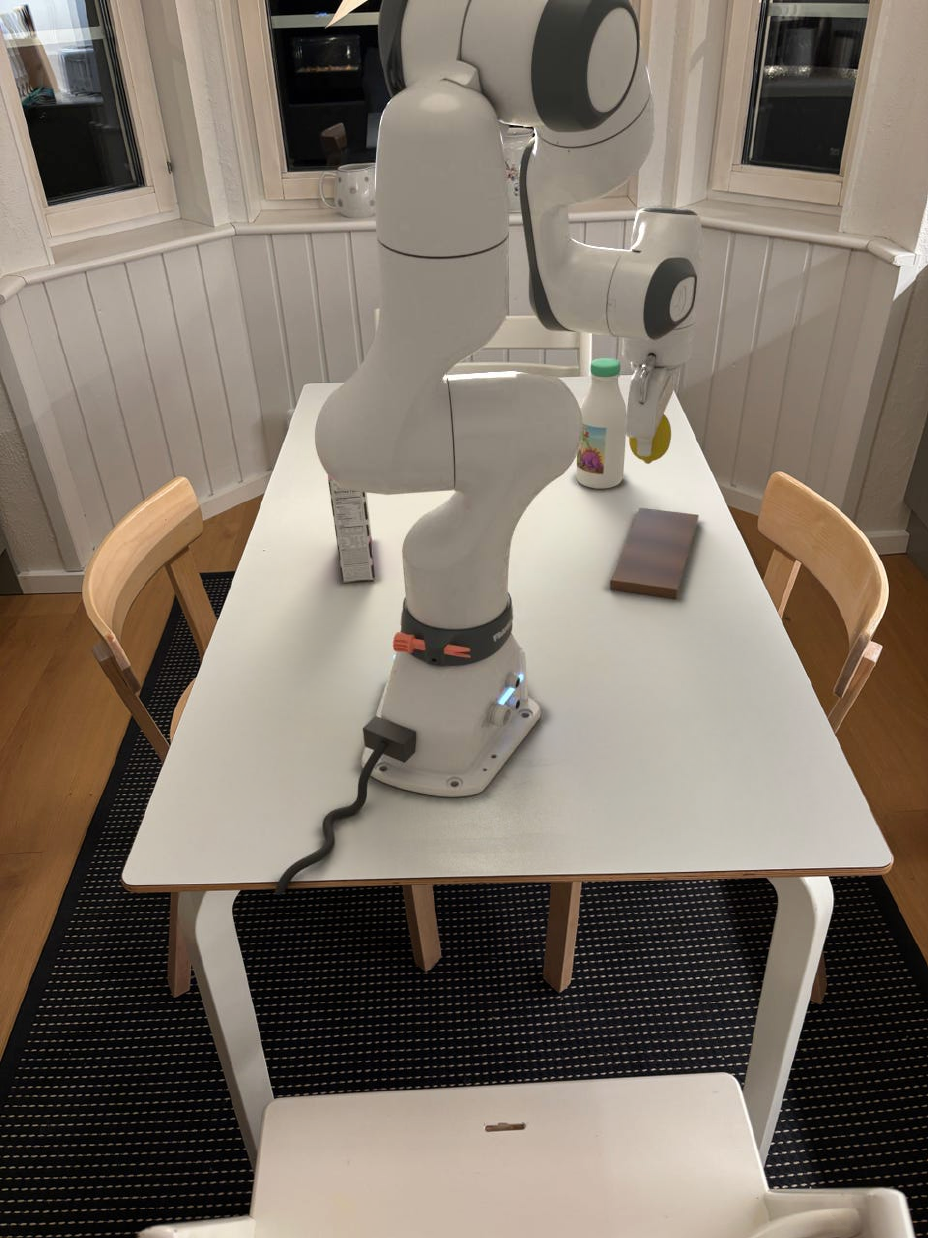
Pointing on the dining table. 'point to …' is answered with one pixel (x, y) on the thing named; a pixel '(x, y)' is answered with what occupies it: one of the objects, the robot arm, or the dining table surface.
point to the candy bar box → (352, 533)
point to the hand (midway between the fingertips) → (649, 443)
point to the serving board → (655, 553)
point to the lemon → (655, 442)
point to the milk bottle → (602, 428)
